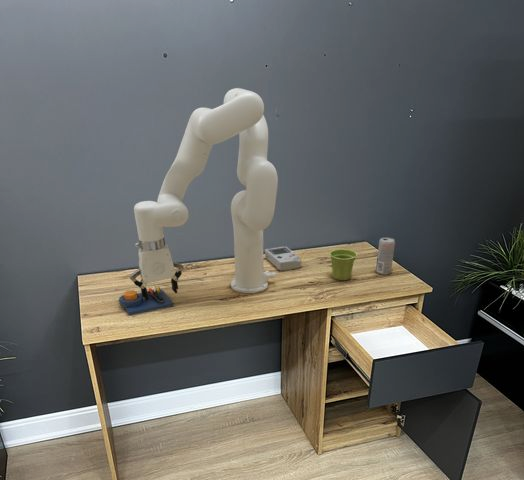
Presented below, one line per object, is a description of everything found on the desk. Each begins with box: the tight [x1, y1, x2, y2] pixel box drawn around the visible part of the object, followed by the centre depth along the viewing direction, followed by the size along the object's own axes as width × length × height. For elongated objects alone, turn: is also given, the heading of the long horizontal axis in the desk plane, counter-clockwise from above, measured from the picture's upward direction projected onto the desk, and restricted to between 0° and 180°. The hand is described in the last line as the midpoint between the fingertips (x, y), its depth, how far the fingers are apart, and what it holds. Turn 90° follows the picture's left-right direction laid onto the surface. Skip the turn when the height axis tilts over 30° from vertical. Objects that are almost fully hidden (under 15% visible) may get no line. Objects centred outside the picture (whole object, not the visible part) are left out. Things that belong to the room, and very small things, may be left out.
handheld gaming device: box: [264, 245, 302, 272], centre depth 191 cm, size 9×15×4 cm, turn 22°
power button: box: [123, 289, 138, 301], centre depth 160 cm, size 4×4×2 cm
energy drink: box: [375, 237, 396, 276], centre depth 181 cm, size 5×5×12 cm
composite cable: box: [147, 284, 165, 303], centre depth 163 cm, size 10×5×2 cm, turn 22°
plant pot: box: [328, 248, 358, 281], centre depth 178 cm, size 9×9×9 cm
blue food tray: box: [118, 288, 174, 316], centre depth 163 cm, size 15×12×3 cm
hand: (160, 294), depth 164 cm, fingers open, 9 cm apart
